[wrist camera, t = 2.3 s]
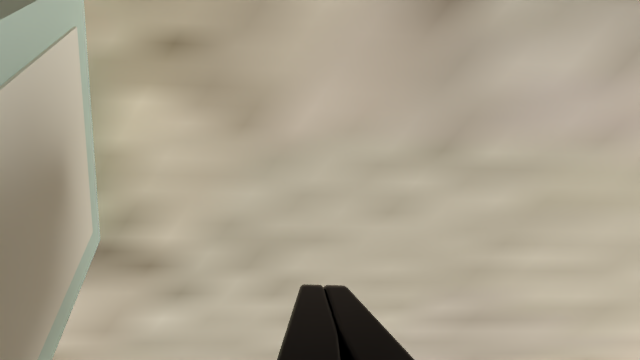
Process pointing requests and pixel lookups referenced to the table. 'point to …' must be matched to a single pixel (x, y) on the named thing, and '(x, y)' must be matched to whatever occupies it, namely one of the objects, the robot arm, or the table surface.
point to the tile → (44, 173)
